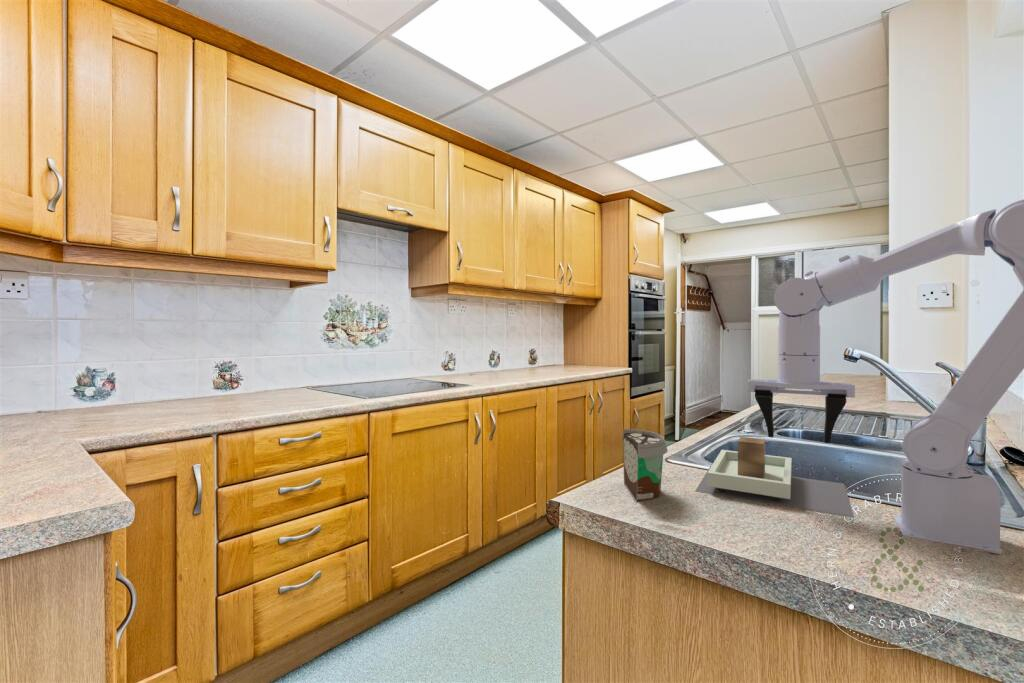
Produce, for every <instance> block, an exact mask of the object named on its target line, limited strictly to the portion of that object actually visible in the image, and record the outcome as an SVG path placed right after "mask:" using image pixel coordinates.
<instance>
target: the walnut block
mask: <svg viewBox="0 0 1024 683" xmlns="http://www.w3.org/2000/svg"><path fill="white" fill-rule="evenodd" d="M737 452H738V475H741V476H748V477H755V478H762V479H764V475H765V455H766V439H765V438H758V437H749V436H739V437H738V440H737Z"/></svg>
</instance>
